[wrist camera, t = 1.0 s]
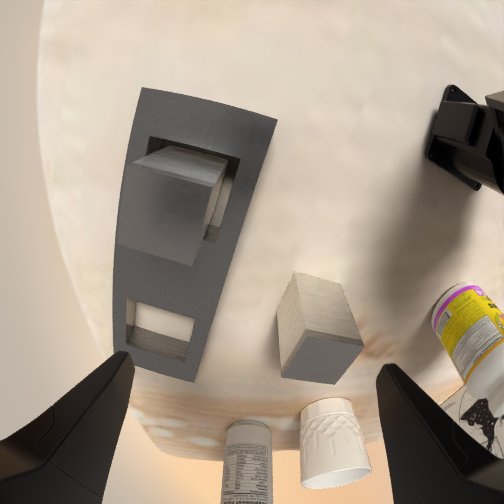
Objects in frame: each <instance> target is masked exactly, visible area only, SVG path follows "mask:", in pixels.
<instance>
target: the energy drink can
mask: <svg viewBox="0 0 504 504" xmlns="http://www.w3.org/2000/svg"><path fill="white" fill-rule="evenodd" d="M272 484H273V477H272V433H271V431H270V430H269V429H267V426H266V425H265V424H263V423H261V422H258V421H251V420H245V421H239V422H236V423H234V424H232V425H231V428H229V429H228V430H227V432H226V441H225V453H224V465H223V478H222V491H221V504H273V485H272Z"/></svg>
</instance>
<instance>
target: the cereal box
mask: <svg viewBox="0 0 504 504" xmlns="http://www.w3.org/2000/svg"><path fill="white" fill-rule="evenodd" d="M488 402H489V401H488V400H487V398H484V399H476V398H474V397H472V396H471V395H470V394H469V392H468V390H467V388H466V386H465V385H464V386H463V387H462V388H461V389H459V390H458V391H457V392H456V393H455V394H454V395H452V396H451V397H450V398H449V399H448V400H446V401H445V402H444V403H443V404H441V405H440V407H441V408H442V409H443V410H444V411H445V412H446V413H447V414H448V415H449V416H450V417H451V418H452V419H453V420H454V421H455V422H456V423H457V424H458V425H459V426H460V427H461V428H463V429H464V430H465V431H466V432H467V433H468V434H469V435H470V436H471V437H473V438H474V439H475V440H476V441H477V442H479V443H480V444H481V445H482V446H484V447H485V448H486V449H488V450H489V451H490V452H491V453H493V454H494V455H495V456H497V457H499V458H502V459H504V414H503V415H501V416H499V417H496V418H495V417H493V415H492V413H491V411H490V409H489V405H488Z"/></svg>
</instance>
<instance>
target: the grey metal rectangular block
mask: <svg viewBox="0 0 504 504" xmlns="http://www.w3.org/2000/svg"><path fill="white" fill-rule="evenodd" d="M228 161H229V160H226V159H223V158H219V157H215V156H212V155H208V154H204V153H200V152H197V151H193V150H189V149H185V148H181V147H177V146H172V145H170V146H168V147H165V148H163V149H161V150H158V151H156V152H154V153H152V154H149V155H147V156H145V157H143V158H141V159H139V160H136V161H134V162H132V163H130V164H128V165H127V167H126V173H125V179H124V185H123V192H122V200H121V207H120V216H119V225H118V236H117V244H119V245H123V246H126V247H129V248H132V249H136V250H139V251H142V252H146V253H149V254H152V255H156V256H159V257H162V258H166V259H169V260H172V261H176V262H179V263H183V264H186V265H190V266H193V264H194V261H195V258H196V256H197V253H198V251H199V248H200V246H201V243H202V241H203V238H204V236H205V233H206V231H207V228H208V226H209V223H210V221H211V218H212V216H213V213H214V209H215V205H216V202H217V198H218V195H219V191H220V188H221V184H222V181H223V177H224V174H225V171H226V167H227V164H228Z"/></svg>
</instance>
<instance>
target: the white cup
mask: <svg viewBox="0 0 504 504" xmlns="http://www.w3.org/2000/svg"><path fill="white" fill-rule="evenodd" d="M300 426H301V431H300V466H301V486H302V487H305V488H309V489H323V488H331V487H337V486H342V485H346V484H349V483H353V482H355V481H358V480H360V479H362V478H364V477H366V476H368V475H369V474H370V473H371V472H372V468H371V464H370V461H369V457H368V453H367V449H366V446H365V442H364V438H363V435H362V432H361V429H360V426H359V423H358V420H357V419H356V416H355V412H354V409H353V406H352V404H351V402H350V401H349V400H346V399H344V398H327V399H322V400H318V401H316V402H313V403H311V404H309V405H307V406H306V407H305V408H304V409H303V410H302V411H301V415H300Z"/></svg>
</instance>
